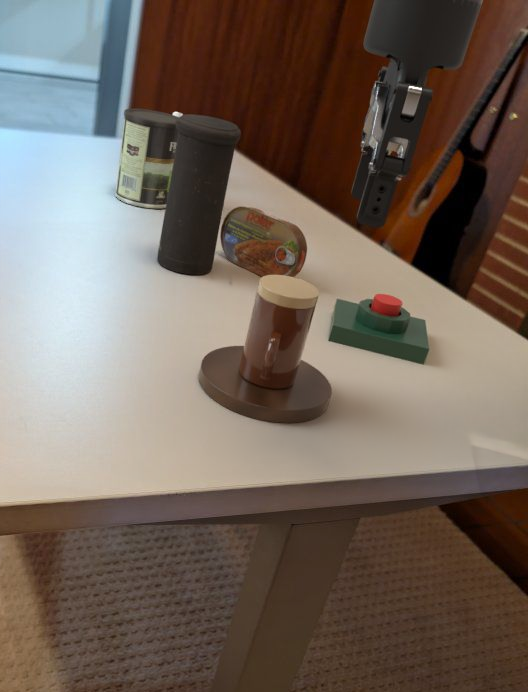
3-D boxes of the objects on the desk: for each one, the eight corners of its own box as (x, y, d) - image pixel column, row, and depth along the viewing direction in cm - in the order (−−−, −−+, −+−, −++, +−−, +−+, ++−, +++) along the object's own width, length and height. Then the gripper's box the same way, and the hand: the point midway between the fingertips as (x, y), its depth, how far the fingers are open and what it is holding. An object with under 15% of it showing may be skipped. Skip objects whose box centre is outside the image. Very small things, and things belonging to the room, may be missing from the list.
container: (207, 257, 113) (234, 115, 103) (219, 279, 106) (250, 129, 95) (151, 250, 111) (172, 105, 101) (159, 272, 104) (183, 119, 93)
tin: (214, 253, 115) (225, 198, 111) (228, 251, 117) (240, 197, 113) (287, 291, 107) (302, 232, 102) (301, 288, 109) (316, 231, 104)
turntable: (331, 376, 85) (335, 365, 85) (323, 436, 74) (327, 423, 73) (212, 346, 87) (214, 334, 86) (185, 400, 75) (188, 387, 74)
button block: (419, 334, 101) (429, 307, 99) (423, 365, 93) (434, 335, 91) (332, 313, 102) (340, 285, 100) (328, 341, 94) (336, 311, 92)
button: (397, 310, 97) (402, 298, 96) (398, 320, 94) (402, 307, 93) (370, 304, 97) (374, 291, 96) (370, 313, 94) (374, 300, 93)
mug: (243, 356, 82) (263, 269, 77) (297, 370, 82) (321, 283, 76) (231, 388, 75) (252, 295, 70) (289, 403, 75) (315, 311, 69)
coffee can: (176, 199, 138) (190, 117, 130) (165, 213, 129) (179, 126, 121) (122, 187, 138) (132, 105, 131) (107, 200, 129) (117, 112, 122)
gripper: (504, 0, 48) (420, 245, 57) (464, -2, 60) (400, 200, 69) (389, -23, 49) (322, 225, 57) (372, -21, 61) (320, 183, 69)
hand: (365, 211), depth 63 cm, fingers open, 8 cm apart
